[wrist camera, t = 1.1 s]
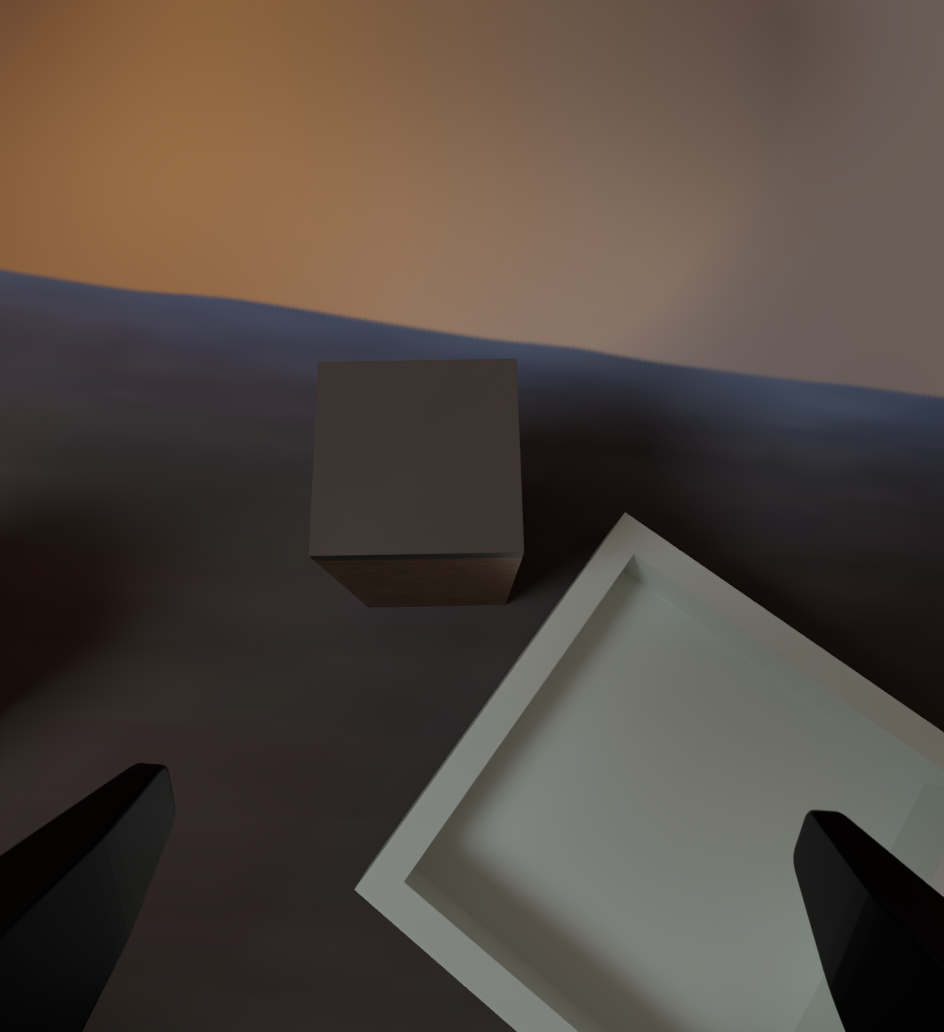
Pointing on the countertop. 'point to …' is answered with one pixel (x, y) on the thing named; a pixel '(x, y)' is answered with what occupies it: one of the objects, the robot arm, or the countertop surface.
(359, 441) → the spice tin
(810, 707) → the tray
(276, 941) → the countertop surface
